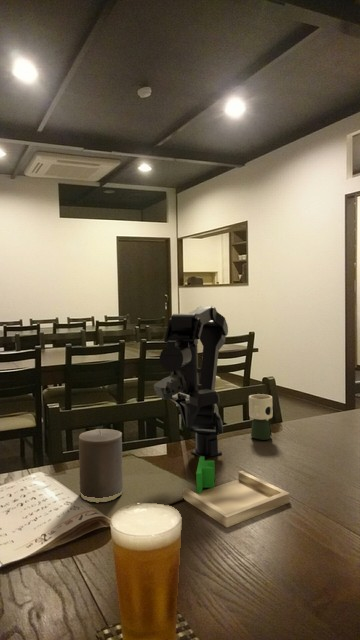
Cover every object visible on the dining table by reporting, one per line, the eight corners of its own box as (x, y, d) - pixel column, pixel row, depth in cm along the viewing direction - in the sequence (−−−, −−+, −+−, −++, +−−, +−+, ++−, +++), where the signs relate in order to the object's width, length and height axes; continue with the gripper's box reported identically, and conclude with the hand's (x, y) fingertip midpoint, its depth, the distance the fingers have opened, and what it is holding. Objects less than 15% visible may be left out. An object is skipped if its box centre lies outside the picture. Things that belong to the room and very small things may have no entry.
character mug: (267, 445, 130) (266, 401, 129) (244, 442, 133) (243, 399, 132) (277, 434, 139) (276, 393, 138) (255, 431, 142) (254, 392, 142)
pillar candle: (86, 507, 94) (85, 438, 94) (75, 490, 103) (73, 426, 102) (129, 497, 99) (128, 431, 98) (115, 481, 108) (113, 420, 107)
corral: (182, 498, 97) (182, 489, 97) (242, 478, 107) (242, 470, 107) (226, 527, 85) (226, 517, 85) (289, 502, 94) (289, 493, 94)
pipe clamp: (213, 493, 99) (212, 473, 99) (196, 493, 99) (196, 473, 99) (215, 473, 110) (214, 455, 110) (200, 473, 110) (199, 455, 110)
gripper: (139, 363, 112) (141, 424, 113) (179, 373, 97) (181, 443, 98) (176, 359, 118) (178, 416, 119) (219, 367, 103) (221, 433, 104)
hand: (188, 426), depth 110 cm, fingers closed
